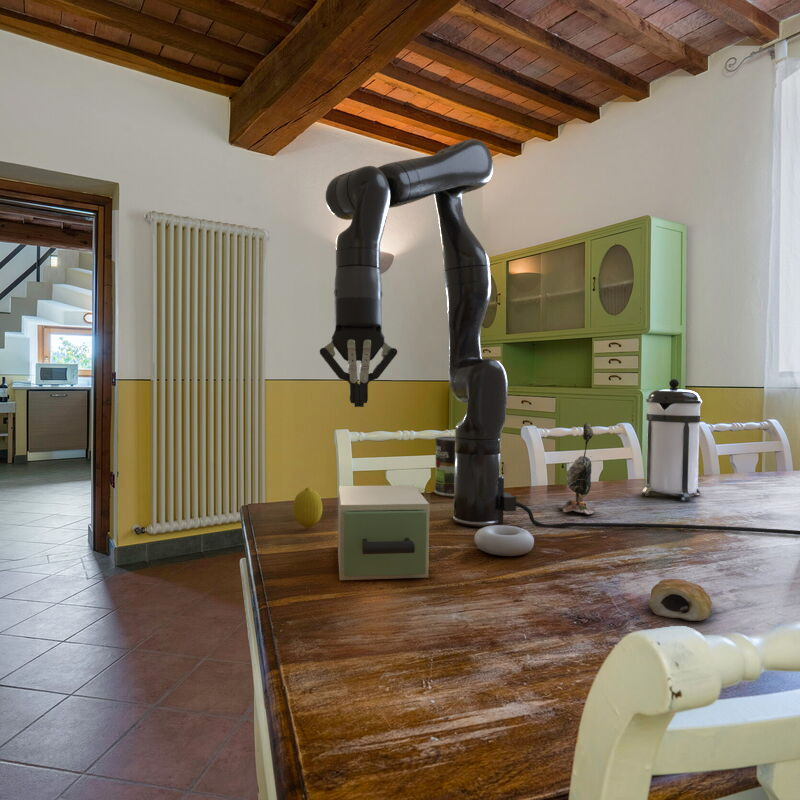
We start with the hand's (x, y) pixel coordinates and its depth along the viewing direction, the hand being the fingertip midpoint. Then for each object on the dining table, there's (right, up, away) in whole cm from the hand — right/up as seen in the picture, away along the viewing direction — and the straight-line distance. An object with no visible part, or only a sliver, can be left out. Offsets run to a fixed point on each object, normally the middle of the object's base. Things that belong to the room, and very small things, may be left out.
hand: (358, 406), depth 91 cm
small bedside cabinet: (+3, -24, -2) cm, 25 cm away
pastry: (+42, -26, -20) cm, 53 cm away
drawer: (+4, -24, -6) cm, 25 cm away
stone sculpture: (+46, -24, +36) cm, 63 cm away
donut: (+24, -25, +5) cm, 35 cm away
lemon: (-11, -24, +17) cm, 31 cm away
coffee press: (+77, -24, +56) cm, 98 cm away
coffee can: (+21, -23, +55) cm, 63 cm away
